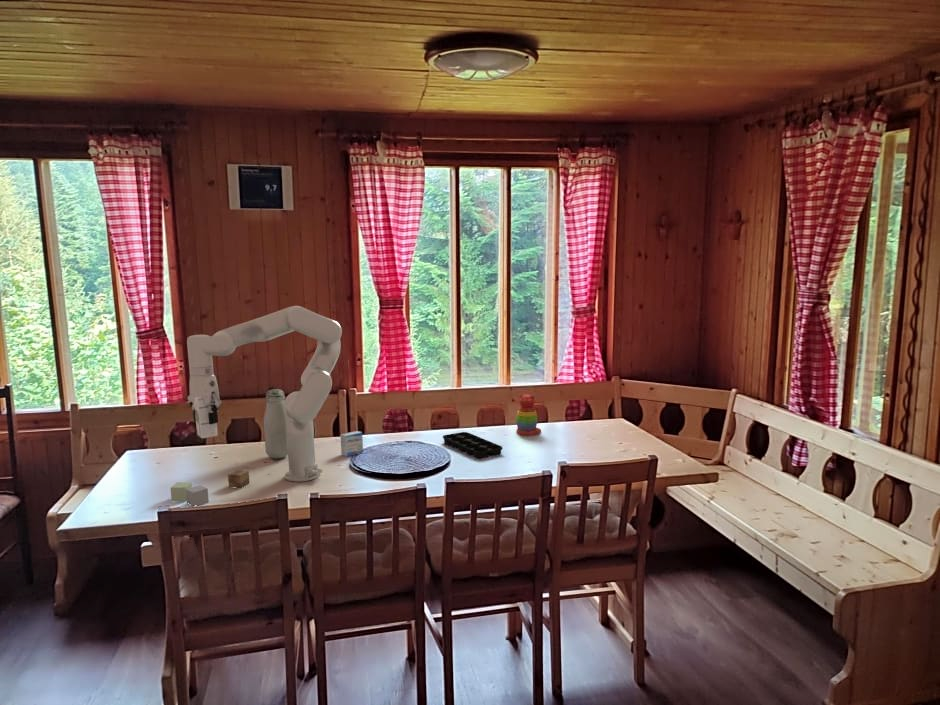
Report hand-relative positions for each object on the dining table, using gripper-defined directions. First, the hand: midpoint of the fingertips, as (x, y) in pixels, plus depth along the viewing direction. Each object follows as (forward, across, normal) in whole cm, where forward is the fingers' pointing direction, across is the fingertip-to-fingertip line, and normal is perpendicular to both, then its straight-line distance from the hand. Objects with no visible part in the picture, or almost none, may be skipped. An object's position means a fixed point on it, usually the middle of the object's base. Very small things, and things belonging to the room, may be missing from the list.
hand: (206, 421), depth 229 cm
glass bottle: (+25, +7, -38) cm, 46 cm away
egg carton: (+26, -56, -84) cm, 104 cm away
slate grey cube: (+25, -6, +10) cm, 27 cm away
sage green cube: (+25, +2, +10) cm, 27 cm away
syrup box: (+5, 0, 0) cm, 5 cm away
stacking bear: (+26, -66, -116) cm, 136 cm away
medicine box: (+25, -16, -56) cm, 63 cm away
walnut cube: (+25, -5, -8) cm, 26 cm away
